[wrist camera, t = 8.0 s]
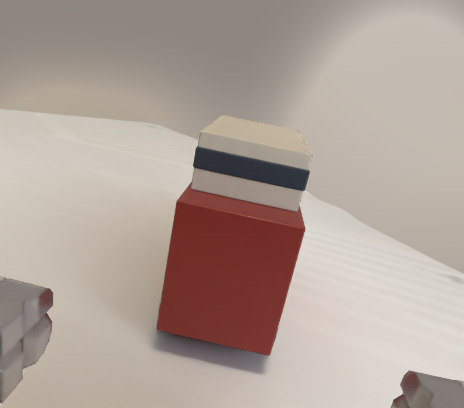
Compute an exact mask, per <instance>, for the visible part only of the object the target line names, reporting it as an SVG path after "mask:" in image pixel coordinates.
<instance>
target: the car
mask: <svg viewBox="0 0 464 408" xmlns="http://www.w3.org/2000/svg"><path fill="white" fill-rule="evenodd" d="M312 156H313V155H312V153H311V151H310V150H309V148H308V146H307V144H306V143H305V141H304V139H303V138H302V136H301V134H300V132H299V131H297V130H291V129H287V128H282V127H277V126H273V125H268V124H263V123H259V122H253V121H249V120H244V119H240V118H234V117H230V116H225V115H222V116H221V117H219V118H218V119H217V120H215V121H214V122H212V123H211V124H210V125H208V126H207V127H206V128H204V129H203V130H201V132H200V137H199V143H198V146H197V148H196V151H195V157H194V163H193V167H194V172H193V178H192V182H191V183H190V185H189V186H188V187H187V189H186V190H185V191H184V192H183V194H182V195H181V196H180V198H179V199H178V200H177V203H176V209H175V215H174V221H173V228H172V234H171V240H170V247H169V253H168V259H167V266H166V272H165V278H164V285H163V291H162V297H161V303H160V308H159V316H158V322H157V330H159V331H164V332H168V333H172V334H177V335H181V336H186V337H190V338H194V339H199V340H203V341H207V342H212V343H216V344H221V345H225V346H229V347H234V348H238V349H243V350H247V351H251V352H256V353H260V354H264V355H270V354H271V350H272V347H273V343H274V341H275V338H276V334H277V330H278V325H279V322H280V318H281V314H282V311H283V307H284V304H285V300H286V297H287V293H288V289H289V286H290V282H291V279H292V275H293V272H294V268H295V264H296V261H297V257H298V254H299V250H300V247H301V243H302V239H303V236H304V232H305V226H304V222H303V218H302V213H301V209H300V201H301V197H302V193H303V191H304V190H305V188H306V184H307V180H308V177H309V173H310V172H309V167H310V164H311V160H312Z"/></svg>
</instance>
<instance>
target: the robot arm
mask: <svg viewBox="0 0 464 408" xmlns="http://www.w3.org/2000/svg"><path fill="white" fill-rule="evenodd" d="M52 306H53V292H52V291H51V290H50V289H49V288H45V287H41V286H37V285H33V284H29V283H25V282H21V281H17V280H13V279H7V278H4V277H0V403H3V402H4V400H5V399H6V398H7V397H8V396H9V394H10V393H11V392H12V391H13V390H14V388H15V387H16V386H17V385H18V384H19V383H20V381H21V380H22V379H23V369H24V368H27V367H29V366H31V365H33V364H35V363H36V362H37V361H38V359H39V358H40V357H41V356H42V354H43V353H44V351H45V349H46V347H47V345H48V342H49V339H50V335H51V331H52V321H51V319H50V318H49V316H48V314H47V313H46V312H47V311H48V310H49V309H50V308H51V307H52ZM400 385H401V388H402V390H403V393H404V394H402V395H401V396H399V397H398V398H396V399H394V400H393V403H392V405H391V408H464V381H459V380H451V379H446V378H441V377H437V376H432V375H428V374H423V373H419V372H414V371H408V372H407V373H406V374H405V375H404V377H403V379H402V381H401V384H400Z"/></svg>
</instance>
